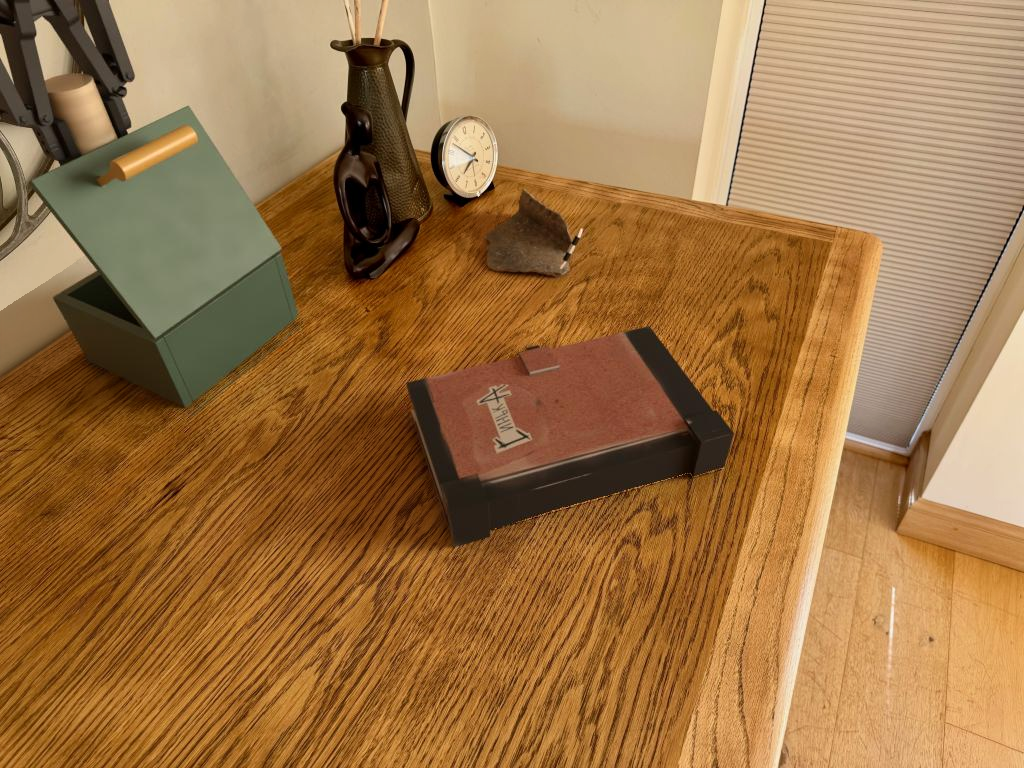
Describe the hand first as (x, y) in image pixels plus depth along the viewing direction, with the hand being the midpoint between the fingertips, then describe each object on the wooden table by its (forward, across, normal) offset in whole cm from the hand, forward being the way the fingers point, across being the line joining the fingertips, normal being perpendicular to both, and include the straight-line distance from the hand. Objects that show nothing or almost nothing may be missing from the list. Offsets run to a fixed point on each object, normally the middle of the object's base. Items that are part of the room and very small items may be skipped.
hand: (106, 175), depth 69 cm
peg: (0, 0, 0) cm, 0 cm away
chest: (+21, +1, -3) cm, 21 cm away
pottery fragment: (+21, +35, -26) cm, 48 cm away
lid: (+3, +1, -6) cm, 7 cm away
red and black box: (+21, +8, -45) cm, 50 cm away
